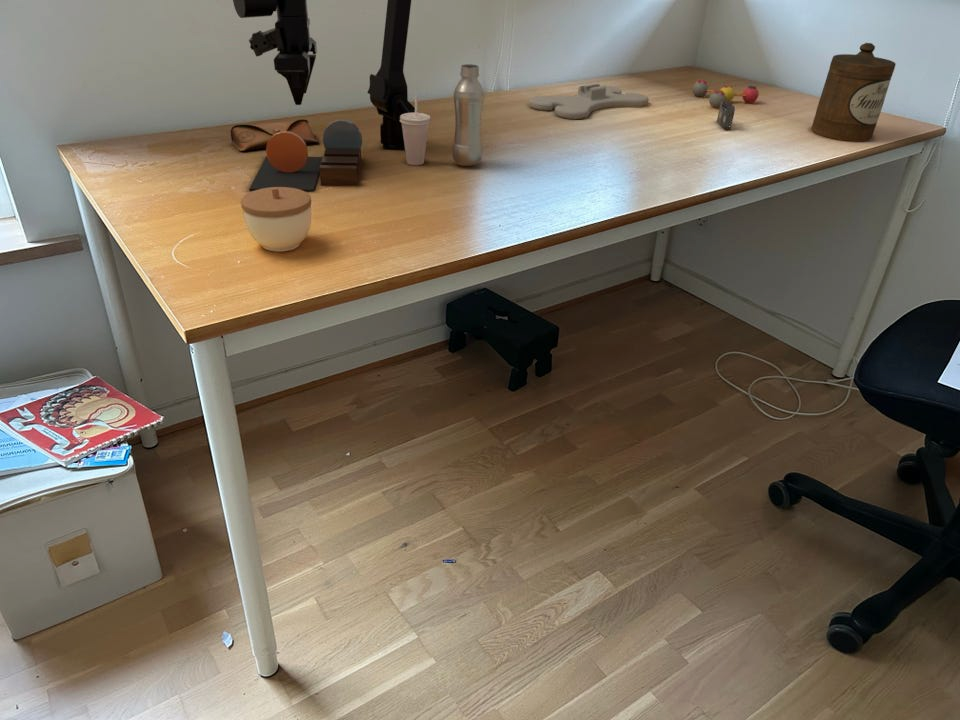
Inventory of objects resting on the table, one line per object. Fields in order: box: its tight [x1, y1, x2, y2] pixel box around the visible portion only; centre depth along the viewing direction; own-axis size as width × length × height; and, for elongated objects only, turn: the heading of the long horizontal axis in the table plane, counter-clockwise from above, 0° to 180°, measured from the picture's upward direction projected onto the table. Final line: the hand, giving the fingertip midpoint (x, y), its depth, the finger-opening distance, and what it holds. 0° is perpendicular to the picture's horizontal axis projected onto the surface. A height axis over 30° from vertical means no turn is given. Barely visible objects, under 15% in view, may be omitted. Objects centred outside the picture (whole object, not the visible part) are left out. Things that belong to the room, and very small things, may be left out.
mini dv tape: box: [716, 99, 736, 131], centre depth 191 cm, size 8×2×6 cm, turn 179°
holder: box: [528, 83, 649, 120], centre depth 204 cm, size 19×34×5 cm, turn 130°
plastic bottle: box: [451, 63, 485, 167], centre depth 152 cm, size 6×7×20 cm
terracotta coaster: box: [265, 131, 309, 173], centre depth 145 cm, size 1×8×8 cm, turn 95°
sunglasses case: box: [230, 118, 319, 152], centre depth 164 cm, size 18×7×7 cm
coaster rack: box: [319, 148, 363, 187], centre depth 149 cm, size 16×7×4 cm, turn 5°
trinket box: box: [240, 187, 312, 253], centre depth 117 cm, size 11×11×9 cm
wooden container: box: [811, 42, 897, 142], centre depth 185 cm, size 15×15×22 cm
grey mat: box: [248, 155, 323, 192], centre depth 147 cm, size 12×20×1 cm, turn 5°
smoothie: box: [400, 94, 431, 166], centre depth 153 cm, size 6×6×14 cm
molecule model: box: [691, 79, 759, 109], centre depth 214 cm, size 18×17×5 cm
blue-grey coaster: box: [322, 119, 363, 150], centre depth 152 cm, size 1×8×8 cm, turn 95°
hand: (300, 98), depth 148 cm, fingers open, 9 cm apart
